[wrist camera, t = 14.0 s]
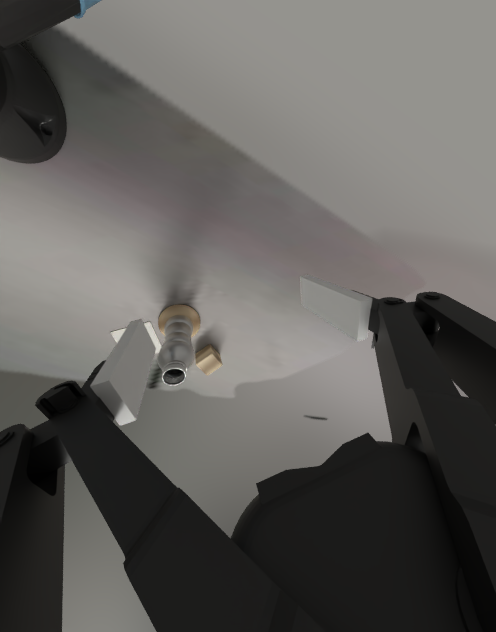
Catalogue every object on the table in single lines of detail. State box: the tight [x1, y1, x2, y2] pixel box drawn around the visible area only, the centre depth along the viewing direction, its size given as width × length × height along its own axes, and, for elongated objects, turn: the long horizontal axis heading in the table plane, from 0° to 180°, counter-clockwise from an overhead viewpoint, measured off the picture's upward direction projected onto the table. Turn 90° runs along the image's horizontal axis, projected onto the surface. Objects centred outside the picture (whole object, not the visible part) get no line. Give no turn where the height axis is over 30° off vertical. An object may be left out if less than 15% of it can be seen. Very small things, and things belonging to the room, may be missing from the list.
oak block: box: [195, 344, 222, 376], centre depth 53 cm, size 5×5×5 cm
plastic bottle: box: [157, 315, 195, 386], centre depth 40 cm, size 6×7×20 cm
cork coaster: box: [158, 304, 200, 338], centre depth 49 cm, size 10×10×1 cm
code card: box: [111, 322, 162, 353], centre depth 48 cm, size 9×9×1 cm
